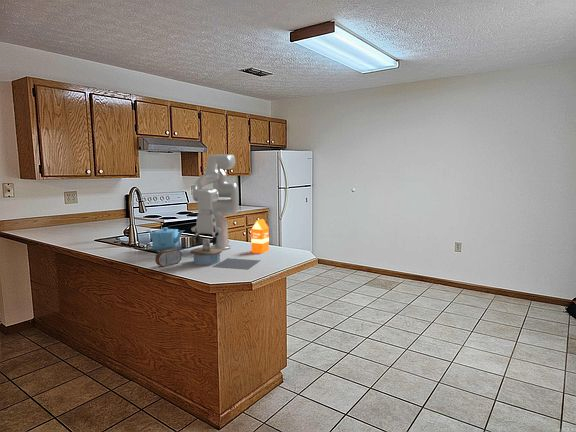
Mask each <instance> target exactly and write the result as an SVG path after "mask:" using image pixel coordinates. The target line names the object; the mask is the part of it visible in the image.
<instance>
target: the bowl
mask: <svg viewBox="0 0 576 432" xmlns="http://www.w3.org/2000/svg"><path fill="white" fill-rule="evenodd" d="M220 254H221V253H219V254H214V255H194V254H192V255H193V256H192V257H193V264H194V265H195V264H196V265H198V266H199V265H200V266H201V265H202V266H209V265H216V264H218V263H220V262H221V259H220V258H221V257H220V256H221V255H220Z"/></svg>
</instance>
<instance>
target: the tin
mask: <svg viewBox="0 0 576 432" xmlns="http://www.w3.org/2000/svg"><path fill="white" fill-rule="evenodd" d="M156 253H157V254H156V255H155V258H154V260H155V263H156V265H157V266H159V267H169V266H173V265H177V264H179V263H180V262H181V260H182V256H183V255H182V252H181V250H180V249H178V248H176V249H168V250H161V251H160V252H156Z"/></svg>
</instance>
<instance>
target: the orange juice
mask: <svg viewBox="0 0 576 432" xmlns="http://www.w3.org/2000/svg"><path fill="white" fill-rule="evenodd" d="M269 229H270V228H269V226H268V224H267V222H266V221H265V219H264V218H261V219H256V221H255V222H254V224H253V225H252V228H251V230H250V232H251V233H250V234H251V236H250V237H251V238H250V240H251V242H250V243H251V253H254V254H265V253H267V252H269V251H270V233H269V232H270V230H269Z"/></svg>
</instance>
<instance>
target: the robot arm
mask: <svg viewBox="0 0 576 432" xmlns="http://www.w3.org/2000/svg"><path fill="white" fill-rule="evenodd" d="M235 165H236V157H235V155H234V154H229V153H228V154H226V153H225V154H221V153H220V154H217V153H216V154H210V155H208V156H207V159H206V165H205V166H206V167H205V170H204V173H203V175H201V176H200V177H199V178H197V180H196V181H195V183H194V185H193V190H192V200H193V201H194V202H197V208H198V209H197V210H198V213H197V215H196V225H194V226H192V227H191V228H190V230H191V232H192V233H193V235H194V236H195V243H196V244H200V243H201V234H208V235H212V245H210V247H215V248H220V249H222V251H224V250H228V249H230V248H231V245H229V243H230V240H229V238H228V235H229V234H228V233H229V232H228V219H227V218H226V217H225V216H224V215H237V214H238V212H239V186H238V184H237V183H235V182H227V173H226V172H225V170H231V169H233V168H234V167H235ZM210 184H212V188H203V187H205V186H208V185H210ZM219 198H222V199H219ZM223 198H230V199H223Z"/></svg>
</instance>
